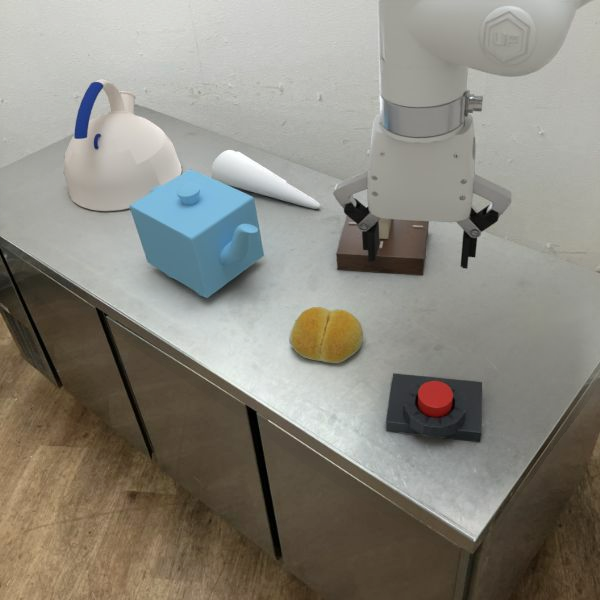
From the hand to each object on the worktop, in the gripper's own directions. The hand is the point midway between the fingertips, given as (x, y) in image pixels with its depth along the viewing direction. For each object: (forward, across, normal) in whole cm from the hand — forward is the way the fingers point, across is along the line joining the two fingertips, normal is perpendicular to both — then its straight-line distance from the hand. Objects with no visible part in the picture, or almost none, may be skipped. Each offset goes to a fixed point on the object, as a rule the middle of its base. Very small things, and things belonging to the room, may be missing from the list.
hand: (418, 257), depth 69 cm
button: (+12, -3, +10) cm, 16 cm away
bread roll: (+15, +11, 0) cm, 19 cm away
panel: (+15, +7, -20) cm, 26 cm away
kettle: (+14, +55, -34) cm, 66 cm away
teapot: (+15, +30, -11) cm, 35 cm away
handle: (+12, +7, -21) cm, 25 cm away
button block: (+15, -3, +9) cm, 17 cm away
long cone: (+15, +28, -30) cm, 44 cm away
